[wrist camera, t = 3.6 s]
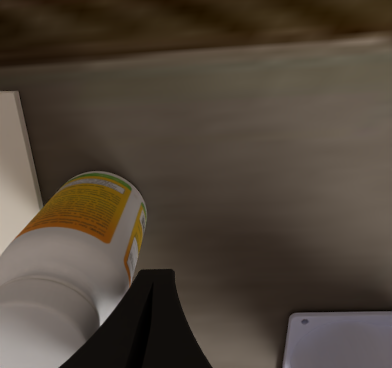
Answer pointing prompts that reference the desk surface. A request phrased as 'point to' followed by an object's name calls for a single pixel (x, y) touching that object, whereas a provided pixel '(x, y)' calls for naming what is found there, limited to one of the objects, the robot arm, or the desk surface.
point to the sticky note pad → (15, 171)
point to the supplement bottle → (68, 269)
